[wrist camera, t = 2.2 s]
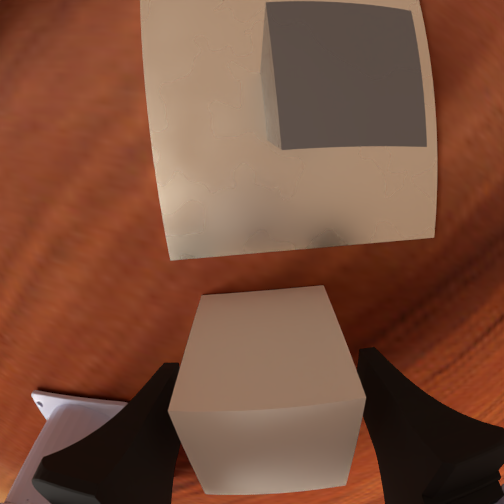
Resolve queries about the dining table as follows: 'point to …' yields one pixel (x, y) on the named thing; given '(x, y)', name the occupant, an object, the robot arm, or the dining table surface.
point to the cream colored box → (267, 393)
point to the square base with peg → (289, 123)
